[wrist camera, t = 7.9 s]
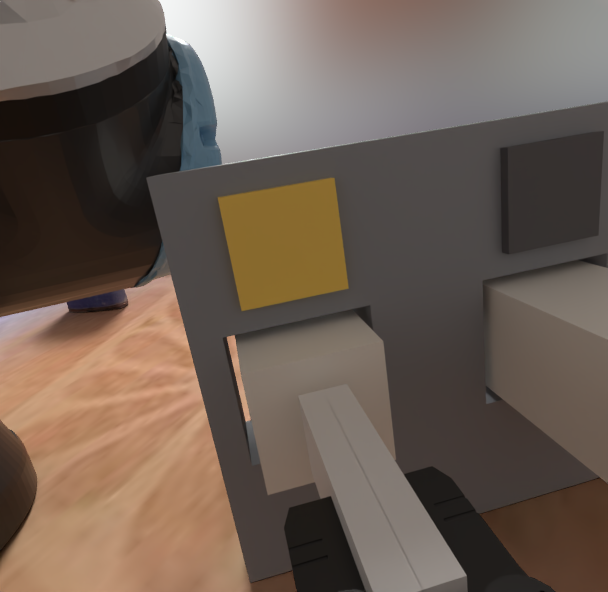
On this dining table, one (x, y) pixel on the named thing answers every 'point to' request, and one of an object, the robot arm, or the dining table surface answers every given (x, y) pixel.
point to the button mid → (553, 353)
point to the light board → (387, 287)
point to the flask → (99, 302)
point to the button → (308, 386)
